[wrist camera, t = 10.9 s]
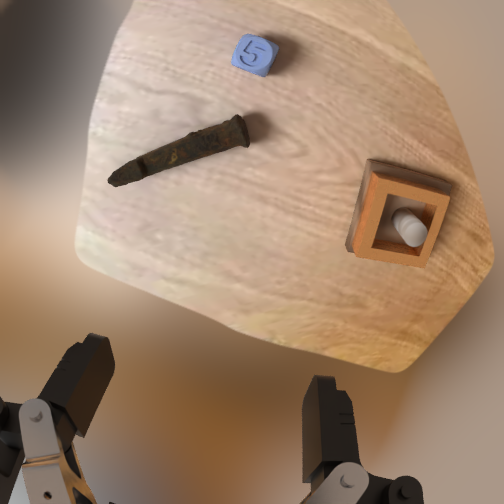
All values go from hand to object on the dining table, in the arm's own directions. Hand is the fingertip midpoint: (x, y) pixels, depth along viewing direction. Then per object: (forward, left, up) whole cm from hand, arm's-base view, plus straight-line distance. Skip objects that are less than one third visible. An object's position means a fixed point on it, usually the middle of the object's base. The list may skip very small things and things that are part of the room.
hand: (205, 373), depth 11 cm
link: (+2, +18, -28) cm, 34 cm away
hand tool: (-1, -10, -31) cm, 32 cm away
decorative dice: (-14, -2, -30) cm, 33 cm away
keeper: (+2, +19, -30) cm, 36 cm away
